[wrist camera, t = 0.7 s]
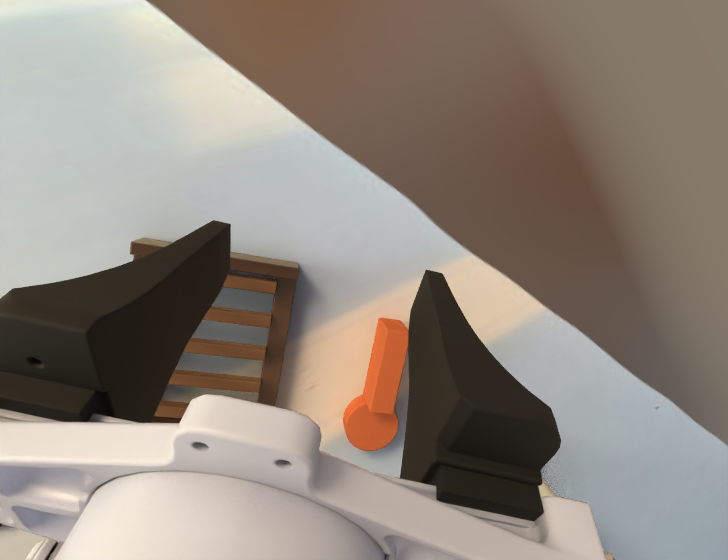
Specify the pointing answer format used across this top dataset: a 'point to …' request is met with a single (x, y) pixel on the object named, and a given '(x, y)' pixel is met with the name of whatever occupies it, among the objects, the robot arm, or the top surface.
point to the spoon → (379, 390)
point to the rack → (274, 322)
